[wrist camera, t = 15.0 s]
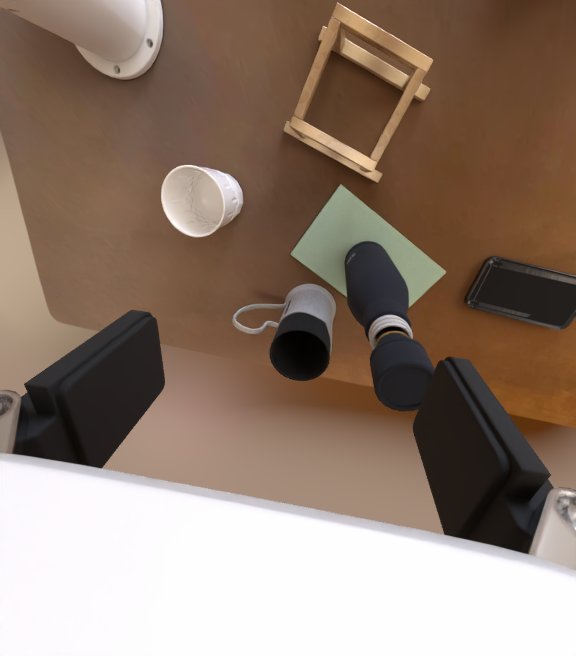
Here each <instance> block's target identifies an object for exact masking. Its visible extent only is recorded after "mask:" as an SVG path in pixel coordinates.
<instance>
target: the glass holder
mask: <svg viewBox="0 0 576 656" xmlns="http://www.w3.org/2000/svg"><path fill="white" fill-rule="evenodd" d="M260 308H269V309H282V308H284V311H283V314H282V316H281V318H280V321H279V323H276V322H273V321H266V322H265V323H264V325H263V326H262V327H260V328H257V329H251V328H247V327H244V326H242V325H241V324H239V323H238V322H237V321H236V317H237V316H238V315H239V314H241V313H243V312H245V311H248V310H251V309H260ZM335 312H336V304H335V301H334V298H333V296H332V295H331V294H330V293H329V291H328V290H326V289H325V288H323V287H321V286H319V285H316V284H303V285H299V286H297V287H295V288H294V289H292V290H291V291H290V292H289V294H288V295H287V297H286V299H285V302H284V304H252V305H248V306H245V307H243V308H241V309H239V310H238V311H237V312H236V313H235V314H234V317H233V320H232V322H233V325H234V326H235V327H236V328H237V329H239V330H240V331H243V332H245V333H249V334H258V333H261V332H262V331H263V330H264V329H265V328H266V326H273V327H275V328H277V329H276V334H275V337H274V339H273V342H272V344H271V348H270V359H271V362H272V364H273V366H274V367H275V368H276V370H277V371H278V372H279V373H280V374H282V375H283V376H285V377H287V378H289V379H292V380H298V381H307V380H311V379H314V378H316V377H318V376H320V375H321V374H322V373H323V372H324V371H325V370H326V368H327V367H328V364H329V360H330V354H331V348H332V325H333V319H334V316H335Z"/></svg>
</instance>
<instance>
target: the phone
mask: <svg viewBox="0 0 576 656" xmlns="http://www.w3.org/2000/svg"><path fill="white" fill-rule="evenodd" d="M465 302H466V304H467V305H468V306H469V307H471V308H473V309H477V310H481V311H485V312H489V313H493V314H497V315H501V316H505V317H509V318H513V319H517V320H521V321H525V322H529V323H533V324H536V325H540V326H544V327H548V328H552V329H556V330H562V329H565V328H566V327H568V326H569V325H570V323H571V322H572V321H573V320H574V318H575V317H576V276H575V275H570V274H566V273H562V272H558V271H554V270H550V269H546V268H542V267H538V266H534V265H530V264H526V263H522V262H518V261H514V260H510V259H505V258H501V257H497V256H493V257H490V258H488V259H487V260H486V261H485V262H484V264H483V266H482V268H481V270H480V272H479V273H478V275H477V277H476V279H475V281H474V283H473V284H472V286H471V288H470V290H469V292H468V294H467V295H466V298H465Z"/></svg>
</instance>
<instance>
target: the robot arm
mask: <svg viewBox="0 0 576 656" xmlns="http://www.w3.org/2000/svg"><path fill="white" fill-rule="evenodd" d="M0 7H2V8H4V9H6V10H8V11H10V12H12V13H14V14H16V15H18V16H20V17H22V18H24V19H26V20H28V21H30V22H32V23H34V24H36V25H38V26H40V27H42V28H44V29H46V30H48V31H50V32H52V33H54V34H56V35H58V36H60V37H62V38H64V39H66V40H68V41H70V42H72V43H74V44H75V46H76V48H77V49H78V51H79V52H80V53H81V54H82V56H83V57H84V58H85V59H86V61H88V62H89V63H90V64H91V65H92V66H93V67H94V68H96V69H97V70H99V71H100V72H102V73H103V74H106V75H108V76H110V77H113V78H117V79H123V80H129V79H133V78H137V77H139V76H140V75H142V74H144V73H145V72H146V71H147V70H148V69H149V68H150V67H151V66H152V64H153V62H154V61H155V59H156V57H157V55H158V52H159V50H160V46H161V41H162V36H163V14H162V6H161V1H160V0H0ZM152 44H153V46H152ZM24 385H25V387H26V390H27V393H26V394H25V395H23V396H22V397H21V396H20V395H19V394H18V393H17V392H14V391H10V390H0V656H576V490H574V489H571V488H564V487H558V488H553V486H552V484H551V483H550V482H549V480H548V478H549V477H550V475H551V474H550V473H549V471H548V470H547V468H546V467H545V466H544V464H543V463H542V462H541V460H540V459H539V457H538V456H537V455H536V453H535V452H534V450H533V449H532V448H531V446H530V445H529V443H528V442H527V441H526V439H525V438H524V436H523V435H522V434H521V432H520V431H519V429H518V428H517V426H516V425H515V424H514V422H513V421H512V420H511V418H510V417H509V415H508V414H507V413H506V411H505V410H504V408H503V407H502V406H501V404H500V403H499V401H498V400H497V399H496V397H495V396H494V394H493V393H492V392H491V390H490V389H489V387H488V386H487V385H486V383H485V382H484V380H483V379H482V378H481V376H480V375H479V373H478V372H477V371H476V369H475V368H474V366H473V365H472V364H471V362H470V361H469V360H467V359H460V358H454V357H447V358H446V359H445V360H444V361H443V360H441V361H439V362H438V364H437V366H436V369H435V371H434V374H433V376H432V379H431V381H430V383H429V386H428V388H427V391H426V393H425V396H424V398H423V401H422V403H421V405H420V408H419V410H418V413H417V415H416V418H415V420H414V423H413V432H414V436H415V439H416V443H417V446H418V449H419V453H420V456H421V459H422V462H423V466H424V469H425V472H426V476H427V479H428V482H429V485H430V488H431V492H432V495H433V498H434V502H435V505H436V508H437V512H438V514H439V518H440V521H441V524H442V528H443V531H444V534H445V535H442V534H438V533H433V532H428V531H424V530H419V529H414V528H408V527H404V526H398V525H393V524H388V523H384V522H378V521H373V520H368V519H363V518H358V517H353V516H348V515H343V514H338V513H333V512H328V511H322V510H317V509H312V508H307V507H301V506H297V505H292V504H287V503H281V502H276V501H271V500H266V499H260V498H255V497H250V496H245V495H240V494H234V493H229V492H223V491H219V490H213V489H207V488H203V487H198V486H192V485H187V484H182V483H176V482H170V481H166V480H160V479H155V478H149V477H144V476H139V475H133V474H127V473H122V472H117V471H112V470H106V469H102V467H103V466H104V465H105V463H106V462H107V461H108V460H109V458H110V457H111V456H112V454H113V453H114V452H115V451H116V449H117V448H118V447H119V445H120V444H121V443H122V442H123V440H124V439H125V438H126V436H127V435H128V434H129V432H130V431H131V430H132V429H133V427H134V426H135V425H136V424H137V422H138V421H139V419H140V418H141V417H142V416H143V415H144V413H145V412H146V411H147V409H148V408H149V407H150V406H151V404H152V403H153V402H154V400H155V399H156V398H157V396H158V395H159V394H160V393H161V391H162V390H163V388H164V385H165V378H164V370H163V362H162V355H161V348H160V340H159V333H158V325H157V320H156V318H154V317H153V316H152V315H151V313H149V312H143V311H136V310H131V311H129V312H128V313H126V314H125V315H123V316H122V317H120V318H119V319H117V320H116V321H115V322H113V323H112V324H110V325H109V326H107V327H106V328H104V329H103V330H101V331H100V332H99V333H97V334H96V335H94V336H93V337H91V338H90V339H89V340H87V341H86V342H84V343H83V344H81V345H80V346H79V347H77V348H76V349H74V350H73V351H71V352H70V353H68V354H67V355H65V356H64V357H62V358H61V359H60V360H58V361H57V362H55V363H54V364H52V365H51V366H49V367H48V368H46V369H45V370H44V371H42V372H41V373H39V374H38V375H36V376H35V377H33V378H32V379H31V380H29V381H28V382H26V383H25V384H24Z"/></svg>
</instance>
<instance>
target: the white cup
mask: <svg viewBox="0 0 576 656" xmlns="http://www.w3.org/2000/svg"><path fill="white" fill-rule="evenodd" d="M161 201H162V206H163V209H164V212H165V214H166V216H167V218H168V219H169V221H170V222H171V223H172V225H173V226H174V227H175V228H176V229H178V230H179V231H180V232H182V233H184V234H186V235H188V236H192V237H204V236H208V235H210V234H212V233H213V232H215V231H217V230H218V229H220V228H222V227H223V226H225V225H226V224H228V223H229V222H230V221H232V220H233V219H234V218H235V217H236V216H237V215H238V214H239V213H240V211H241V208H242V205H243V193H242V190H241V188H240V186H239V184H238V182H237V181H236V180H235V179H234V178H233V177H231V176H230V175H229V174H226V173H222V172H220V171H217V170H213V169H209V168H204V167H198V166H193V165H183V166H179V167H177V168H175V169H173V170H172V171H171V172H170V173H169V174H168V175H167V176H166V178H165V180H164V182H163V185H162V190H161Z"/></svg>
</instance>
